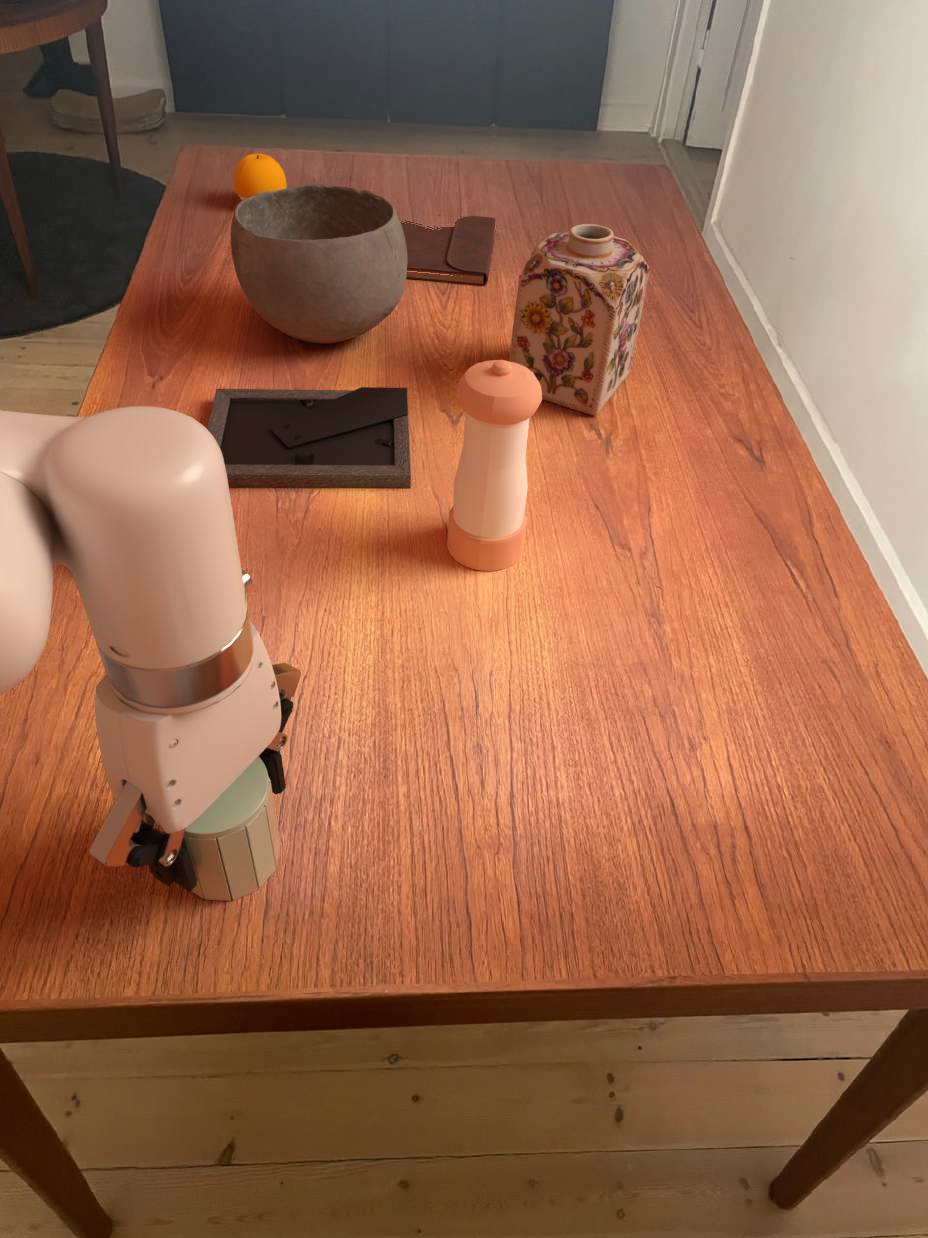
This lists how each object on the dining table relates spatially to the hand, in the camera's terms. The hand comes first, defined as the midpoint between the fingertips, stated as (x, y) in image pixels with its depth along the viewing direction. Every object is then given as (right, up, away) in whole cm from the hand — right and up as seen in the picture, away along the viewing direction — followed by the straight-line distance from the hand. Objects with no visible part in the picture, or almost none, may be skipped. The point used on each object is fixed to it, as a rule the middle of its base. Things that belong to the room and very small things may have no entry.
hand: (222, 826), depth 59 cm
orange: (-16, +78, +83) cm, 115 cm away
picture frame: (-1, +32, +38) cm, 50 cm away
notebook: (+12, +67, +74) cm, 101 cm away
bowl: (-2, +50, +56) cm, 75 cm away
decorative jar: (+28, +42, +50) cm, 71 cm away
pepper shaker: (+18, +20, +27) cm, 38 cm away
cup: (-1, -2, +3) cm, 4 cm away
